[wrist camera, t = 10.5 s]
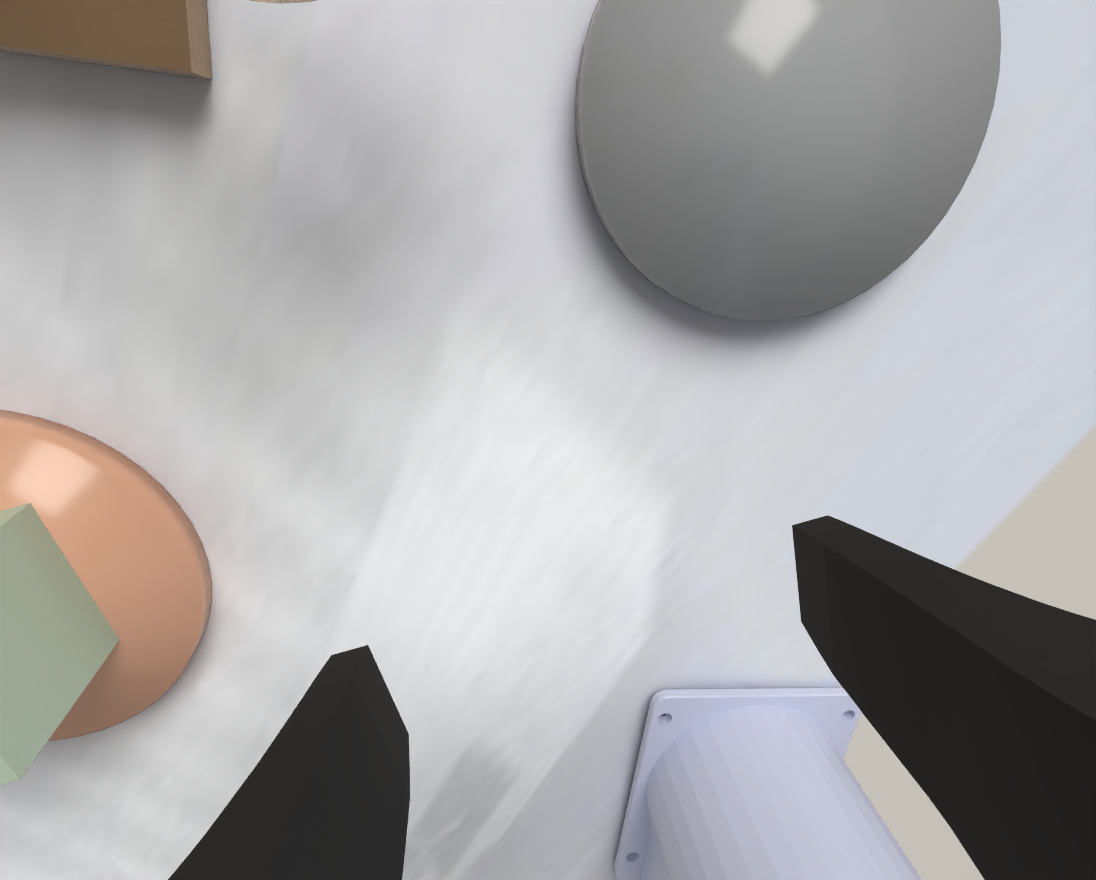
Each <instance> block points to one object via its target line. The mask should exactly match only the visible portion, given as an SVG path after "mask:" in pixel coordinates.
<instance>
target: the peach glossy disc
mask: <svg viewBox="0 0 1096 880" xmlns="http://www.w3.org/2000/svg"><path fill="white" fill-rule="evenodd" d="M27 503H31V505H32V506H33V508H34V509H35V511H36V512H37V514H38V516H39V517H40V519H41V520H42V522H43V523H44V525H45V526H46V528H47V529H48V531H49V532H50V534H51V535H52V537H53V539H54V540H55V542H56V543H57V545H58V546H59V548H60V549H61V551H62V552H63V554H64V555H65V557H66V558H67V560H68V562H69V563H70V565H71V566H72V568H73V569H74V571H75V572H76V574H77V575H78V577H79V578H80V580H81V582H82V583H83V585H84V586H85V588H86V589H87V591H88V592H89V594H90V595H91V597H92V598H93V600H94V601H95V603H96V605H97V606H98V608H99V609H100V611H101V612H102V614H103V615H104V617H105V618H106V620H107V621H108V623H109V624H110V626H111V628H112V629H113V631H114V632H115V634H116V635H117V637H118V638H119V641H118V643H117V644H116V646H115V647H114V648H113V650H112V651H111V653H110V654H109V655H108V657H107V658H106V660H105V661H104V662H103V664H102V665H101V667H100V668H99V670H98V671H97V672H96V674H95V675H94V677H93V678H92V679H91V681H90V682H89V684H88V685H87V686H86V688H85V689H84V691H83V692H82V693H81V695H80V696H79V698H78V699H77V700H76V702H75V703H74V705H73V706H72V708H71V709H70V710H69V712H68V713H67V715H66V716H65V717H64V719H63V720H62V722H61V723H60V724H59V726H58V727H57V729H56V730H55V731H54V733H53V734H52V736H51V737H50V738H49V740H48V741H50V740H59V739H65V738H72V737H78V736H82V735H86V734H89V733H93V732H97V731H101V730H103V729H106V728H109V727H111V726H114V725H116V724H119V723H121V722H123V721H125V720H127V719H129V718H131V717H133V716H135V715H137V714H139V713H140V712H142V711H143V710H145V709H146V708H147V707H149V706H150V705H152V704H153V703H154V702H156V701H157V700H158V699H159V698H160V697H161V696H162V695H163V694H164V693H166V692H167V691H168V690H169V689H170V688H171V686H172V685H173V684H174V683H175V681H176V680H177V679H178V678H179V676H180V675H181V674H182V672H183V670H184V668H185V667H186V665H187V663H188V661H189V659H190V657H191V656H192V654H193V652H194V650H195V648H196V646H197V644H198V643H199V641H200V639H201V637H202V635H203V633H204V630H205V627H206V624H207V621H208V618H209V613H210V607H211V601H212V582H211V575H210V570H209V564H208V560H207V557H206V554H205V551H204V548H203V546H202V543H201V540H200V539H199V537H198V535H197V533H196V531H195V529H194V527H193V525H192V523H191V522H190V520H189V519H188V517H187V516H186V514H185V513H184V512H183V510H182V509H181V507H180V506H179V504H178V503H177V502H176V501H175V500H174V499H173V498H172V496H171V495H170V494H169V493H168V492H167V491H166V490H165V489H164V488H163V486H162V485H161V484H159V483H158V482H157V481H156V480H155V479H154V478H153V477H152V476H150V475H149V474H148V473H147V472H146V471H145V470H144V469H142V468H141V467H140V466H138V465H137V464H135V463H134V462H133V461H131V460H130V459H128V458H127V457H126V456H124V455H123V454H121V453H120V452H118V451H116V450H115V449H113V448H111V447H109V446H107V445H106V444H104V443H102V442H100V441H99V440H97V439H95V438H93V437H91V436H88V435H86V434H84V433H81V432H79V431H77V430H74V429H72V428H70V427H67V426H64V425H61V424H58V423H55V422H52V421H49V420H46V419H42V418H39V417H35V416H30V415H25V414H21V413H16V412H11V411H4V410H0V511H1V510H5V509H9V508H12V507H16V506H20V505H24V504H27Z"/></svg>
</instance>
